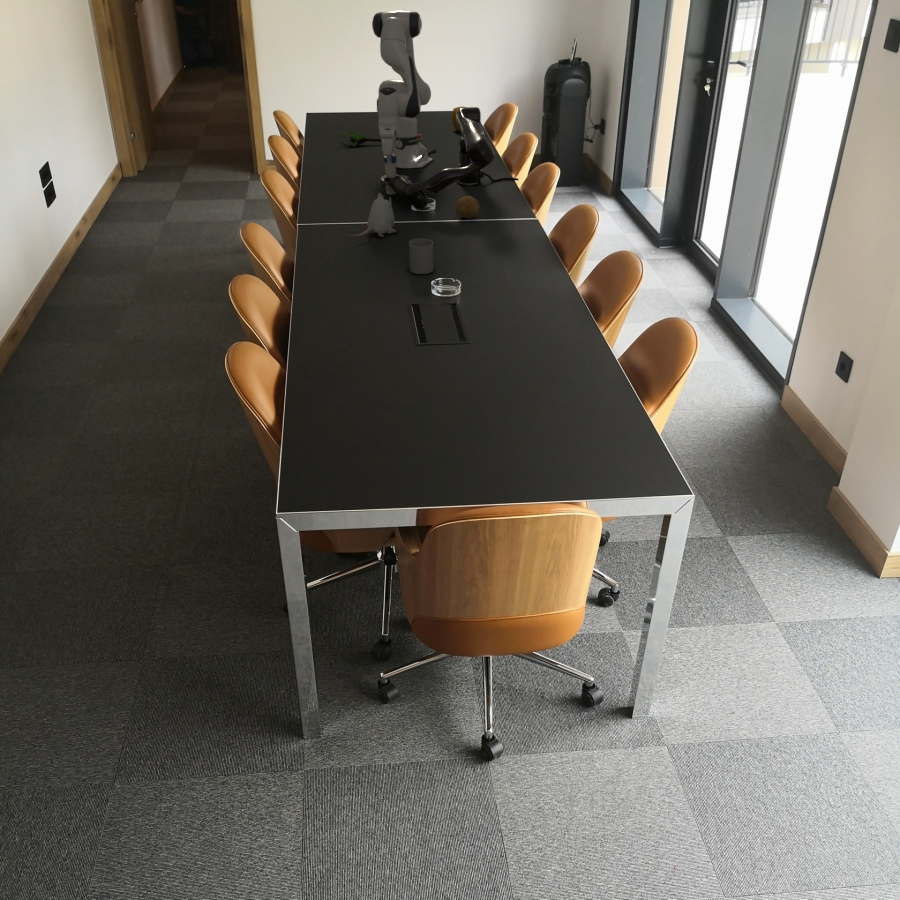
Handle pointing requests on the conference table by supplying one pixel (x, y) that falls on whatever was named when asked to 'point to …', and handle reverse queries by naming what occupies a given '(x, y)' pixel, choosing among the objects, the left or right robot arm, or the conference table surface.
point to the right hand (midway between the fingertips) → (388, 176)
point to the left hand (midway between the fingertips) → (390, 161)
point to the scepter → (358, 139)
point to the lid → (391, 158)
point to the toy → (380, 217)
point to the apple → (455, 118)
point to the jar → (390, 175)
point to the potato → (467, 207)
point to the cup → (421, 256)
